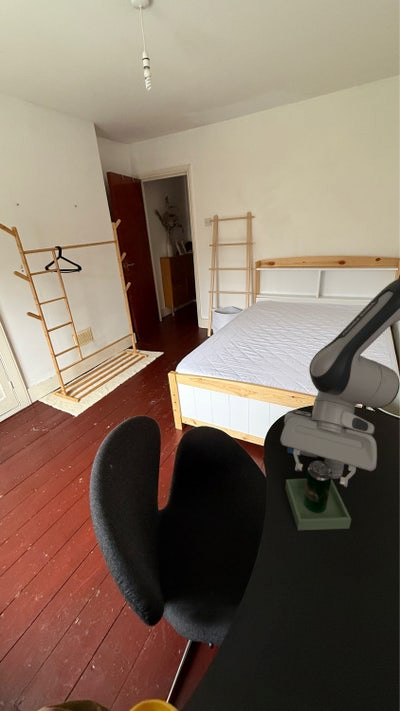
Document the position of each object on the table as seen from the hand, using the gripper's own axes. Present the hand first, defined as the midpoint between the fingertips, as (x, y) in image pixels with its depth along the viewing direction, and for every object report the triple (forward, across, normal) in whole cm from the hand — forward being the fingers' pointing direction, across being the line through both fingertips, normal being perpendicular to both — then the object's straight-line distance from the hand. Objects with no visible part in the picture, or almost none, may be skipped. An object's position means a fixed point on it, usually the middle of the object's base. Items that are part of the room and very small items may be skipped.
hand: (320, 478), depth 66 cm
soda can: (+6, 0, +6) cm, 9 cm away
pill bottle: (-2, +2, +16) cm, 16 cm away
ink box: (-6, -7, +19) cm, 21 cm away
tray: (+7, 0, +6) cm, 9 cm away
